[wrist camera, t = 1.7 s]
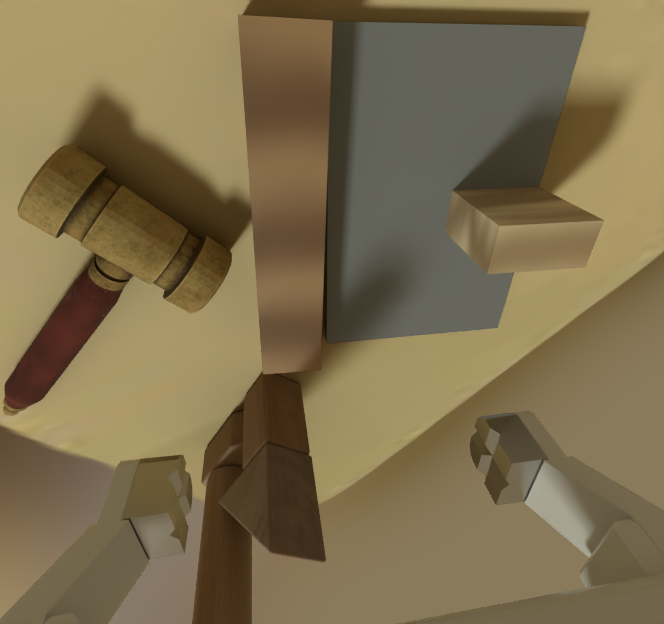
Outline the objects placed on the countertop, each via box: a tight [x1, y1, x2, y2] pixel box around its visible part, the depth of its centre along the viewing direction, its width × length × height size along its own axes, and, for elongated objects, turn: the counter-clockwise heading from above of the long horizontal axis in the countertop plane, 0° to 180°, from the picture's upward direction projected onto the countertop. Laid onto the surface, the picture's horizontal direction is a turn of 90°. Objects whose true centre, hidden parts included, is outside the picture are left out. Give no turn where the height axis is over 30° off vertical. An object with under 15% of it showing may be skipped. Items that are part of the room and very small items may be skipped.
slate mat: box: [325, 21, 586, 343], centre depth 27 cm, size 20×14×1 cm
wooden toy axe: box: [192, 373, 326, 624], centre depth 28 cm, size 4×11×18 cm, turn 145°
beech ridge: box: [445, 187, 604, 274], centre depth 24 cm, size 3×6×6 cm, turn 89°
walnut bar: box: [238, 15, 333, 374], centre depth 24 cm, size 20×4×4 cm, turn 178°
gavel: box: [3, 144, 232, 416], centre depth 26 cm, size 21×5×10 cm
